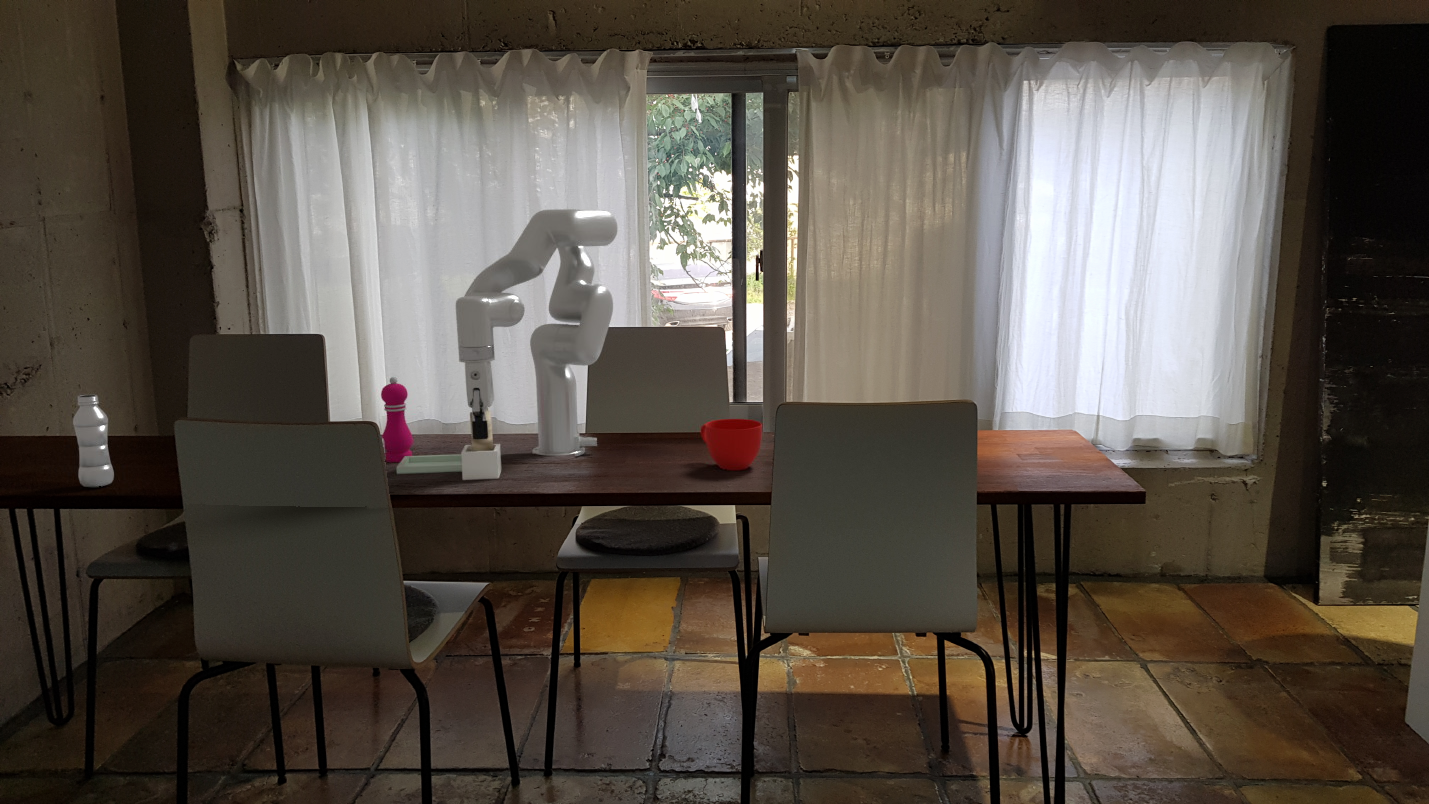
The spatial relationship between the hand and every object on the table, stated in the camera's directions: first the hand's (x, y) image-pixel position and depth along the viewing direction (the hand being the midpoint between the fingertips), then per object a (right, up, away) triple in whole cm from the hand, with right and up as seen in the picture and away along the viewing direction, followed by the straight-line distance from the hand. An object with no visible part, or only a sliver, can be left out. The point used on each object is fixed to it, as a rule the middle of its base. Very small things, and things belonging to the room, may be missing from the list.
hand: (481, 435), depth 229 cm
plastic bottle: (-83, -11, -1) cm, 84 cm away
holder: (0, -10, +1) cm, 10 cm away
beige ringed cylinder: (0, -7, +1) cm, 7 cm away
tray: (-12, -8, +9) cm, 17 cm away
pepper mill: (-25, -7, +21) cm, 33 cm away
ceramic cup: (+54, -7, +11) cm, 56 cm away
